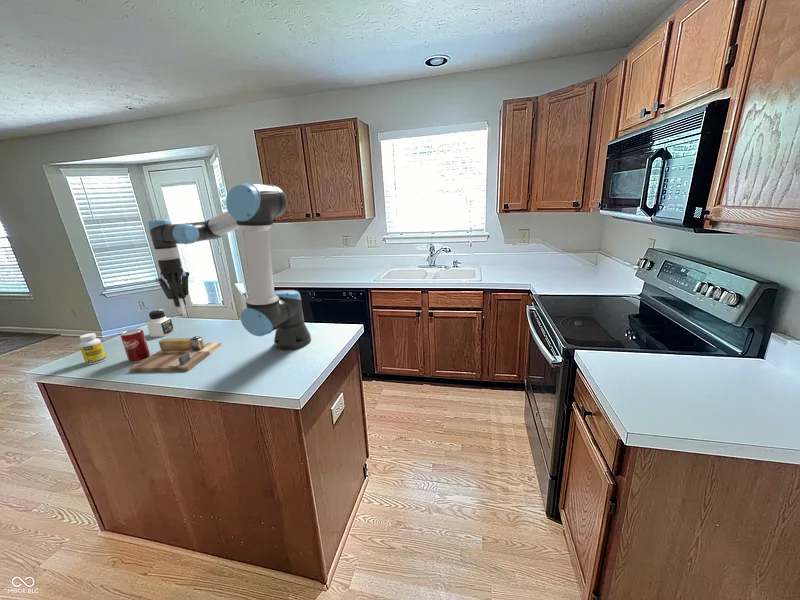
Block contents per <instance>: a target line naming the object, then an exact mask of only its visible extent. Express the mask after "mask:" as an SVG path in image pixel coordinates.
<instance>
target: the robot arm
mask: <svg viewBox="0 0 800 600" xmlns="http://www.w3.org/2000/svg"><path fill="white" fill-rule="evenodd" d="M225 204H226V205H225V206H226V209H227V211H225V212H222V213H220V214H218V215H216V216H213V217H211V218H210V219H206V220H205V221H198V222H188V223H187V222H185V223H176V224H175V223H174V224H172V222H171V220H170V219H168V218H162V219H161V218H160V219H150V220H148V222H147V225H148V229H149V230H148V232H149V235H150V237H151V238H150V239H151V241H152V246H153V248H154V252H155V256H156V259H157V263H158V266H159V267H158V268H159V269H160V276H159V277H157V278H156V277H155V281H156V282H157V283H158V284H159V286H160V287H161V290H162V291H163V293H164V295H165V296H166V298H167V300H173V304H174V306H175V308H177V313H178V314H180V315H184V314H187V311H186V307H185V306H186V300H185V299H186V297H187V296H188V295H189V278H190V277H189V276H190V272H189V271H184V269H183V268H182V263H181V259H180V254H179V250H178V245H191V244H195V243H196V242H203V241H208V240H217V239H220V238H223V237H224V235H225V234H229V233H230V232H231V233H232V232H233V231H235V230H238V229H241V230H242V232H241V233H242V238H243V249H244V250H243V251H244V258H245V264H246V275H247V284H248V293H249V295H248V296H247V298H246V299H245V305H246V308H244V309H243V310H242V312H241V313H240V322H241V325H242V326H243V328H244V329H245V330H246V331H247V332H248V333H249V334H250V335H253V336H255V337H264V336H265V335H268V334H271V333H272V332H273V331H275V333H274V337H273V338H274V340H273V344H274V347H275V349H277V350H282V351H283V350H284V351H287V350H289V351H290V350H295V349H300V348H302V347H305V346H306V345H308V344H309V343H310V342H311V341H312V336H311V333H310V331H309V329H308V328H307V325H306V324H305V318H304V311H303V304H302V297H301V293H300V292H299V291H298V290H292V289H291V290H289V289H288V290H287V289H285V290H275V286H274V285H275V282H274V274H273V263H272V262H273V261H272V250H271V241H270V239H271V238H270V228H272V226H274V219H273V218H277V217H280V216H282V215H283V214H284V213H285V212H286V209H287V208H288V199H287V195H286V193H285V192H284V190H282V189H281V187H279V186H278V185H275V184H270V183H250V182H248V183H238V184H236V185H233V186H232V187H231V189H230V190H229V191H228V193H227V195H226V198H225ZM177 244H178V245H177Z"/></svg>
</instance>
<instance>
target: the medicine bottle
mask: <svg viewBox="0 0 800 600" xmlns="http://www.w3.org/2000/svg"><path fill="white" fill-rule="evenodd" d="M148 316H149V319H150V321H149V322H147V323H146V325H147V329H148V330H147V331H148V332H149V335H150V338H156V337H157V338H160V337H161V338H162V337H166V336H168V335H169V334H171V333H173V332H175V329H174V325H173V321H172V318H171V317H166V313H165V310H163V309H156V310H152V311H150V312H149V313H148Z"/></svg>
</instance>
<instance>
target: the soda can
mask: <svg viewBox="0 0 800 600" xmlns="http://www.w3.org/2000/svg"><path fill="white" fill-rule="evenodd" d="M120 339H121V342H122V345H123V349H124V351H125V354H126V357H127V361H128V362H130V363H131V364H132V363H134V364H135V363H140V362H141V361H143V360H145V359H146V358H148V357H150V356H151V352H150V349H149V345H148V343H147V340H146V337H145V332H144V330H143V329H142V328H135V329H130V330H126V331H124V332H121V334H120Z"/></svg>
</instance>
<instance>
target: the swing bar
mask: <svg viewBox="0 0 800 600" xmlns="http://www.w3.org/2000/svg"><path fill="white" fill-rule="evenodd" d="M204 343H205V342H204V338H203V337H202V336H193V337H174V338H173V337H172V338H169V337H168V338H162V339H160V340H159V341H158V344H159V347H160V348H159V349H160V350H191V349H192V350H198V349H201V348H203V347H204V346H205V345H204Z"/></svg>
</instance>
